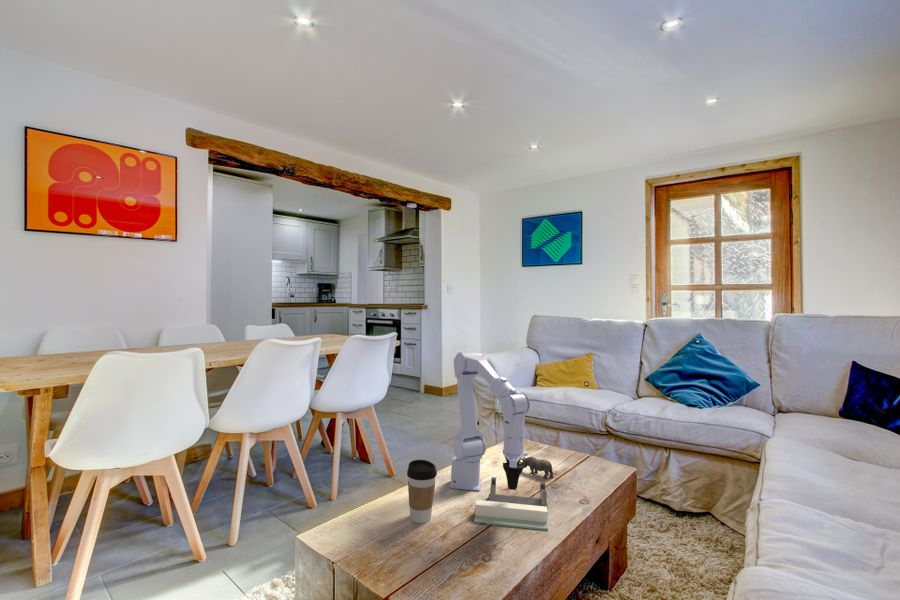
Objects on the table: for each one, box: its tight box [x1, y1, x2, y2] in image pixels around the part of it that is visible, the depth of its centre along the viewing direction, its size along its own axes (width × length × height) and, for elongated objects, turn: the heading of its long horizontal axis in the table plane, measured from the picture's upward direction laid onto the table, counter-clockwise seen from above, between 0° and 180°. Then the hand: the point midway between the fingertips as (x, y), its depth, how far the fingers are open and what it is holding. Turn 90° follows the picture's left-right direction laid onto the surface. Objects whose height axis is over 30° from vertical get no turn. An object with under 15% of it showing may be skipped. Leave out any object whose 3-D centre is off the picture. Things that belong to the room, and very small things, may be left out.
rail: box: [474, 499, 549, 524], centre depth 122 cm, size 20×3×3 cm, turn 82°
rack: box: [487, 476, 549, 511], centre depth 130 cm, size 18×7×6 cm, turn 82°
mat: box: [473, 514, 549, 532], centre depth 122 cm, size 20×9×1 cm, turn 82°
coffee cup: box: [406, 459, 438, 524], centre depth 120 cm, size 8×8×15 cm
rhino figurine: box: [519, 456, 554, 480], centre depth 154 cm, size 4×14×6 cm, turn 58°
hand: (512, 483), depth 123 cm, fingers open, 7 cm apart
